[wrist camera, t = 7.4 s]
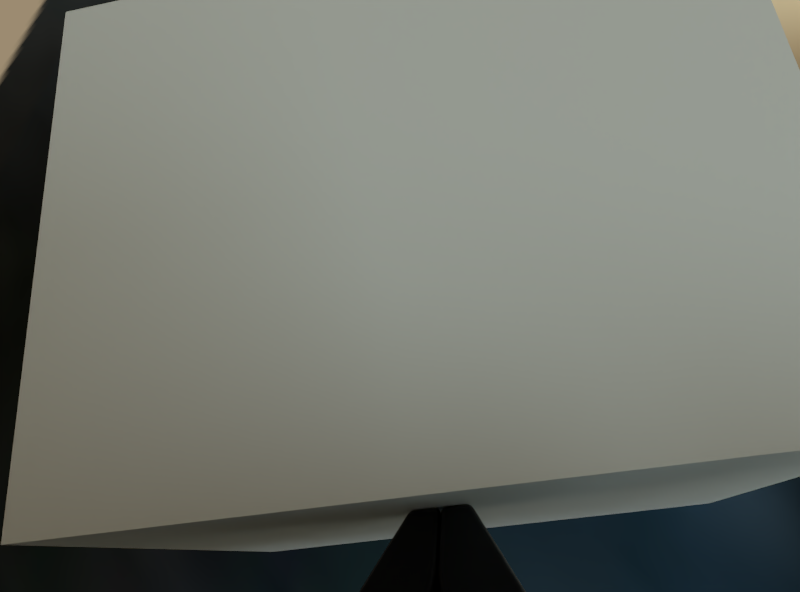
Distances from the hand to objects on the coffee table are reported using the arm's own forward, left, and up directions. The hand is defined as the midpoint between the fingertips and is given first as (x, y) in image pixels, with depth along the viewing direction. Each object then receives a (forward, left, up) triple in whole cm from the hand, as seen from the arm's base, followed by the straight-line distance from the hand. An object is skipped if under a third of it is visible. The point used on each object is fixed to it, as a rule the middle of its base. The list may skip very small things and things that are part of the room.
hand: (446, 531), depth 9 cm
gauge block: (+4, 0, -7) cm, 8 cm away
